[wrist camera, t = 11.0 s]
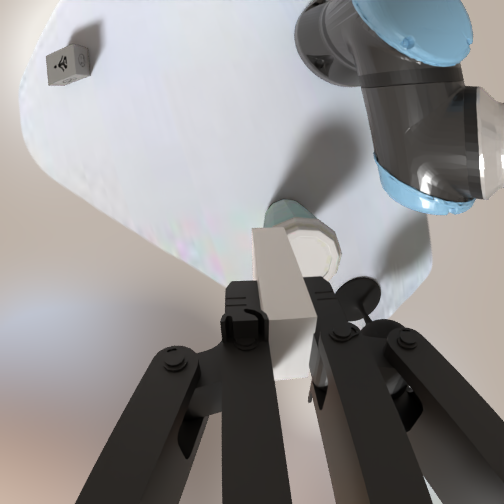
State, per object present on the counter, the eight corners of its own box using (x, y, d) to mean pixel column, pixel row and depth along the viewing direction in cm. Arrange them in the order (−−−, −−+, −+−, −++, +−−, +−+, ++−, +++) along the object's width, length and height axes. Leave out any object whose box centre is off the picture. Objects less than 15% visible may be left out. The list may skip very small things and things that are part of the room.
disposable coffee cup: (327, 200, 48) (361, 241, 34) (300, 257, 52) (321, 311, 39) (265, 177, 46) (279, 210, 32) (241, 238, 50) (244, 291, 37)
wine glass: (377, 269, 54) (427, 340, 37) (382, 309, 59) (423, 380, 41) (326, 288, 55) (361, 368, 38) (336, 326, 60) (366, 404, 42)
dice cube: (90, 75, 36) (75, 74, 31) (64, 85, 36) (48, 85, 31) (87, 47, 34) (73, 43, 29) (61, 58, 34) (45, 56, 29)
